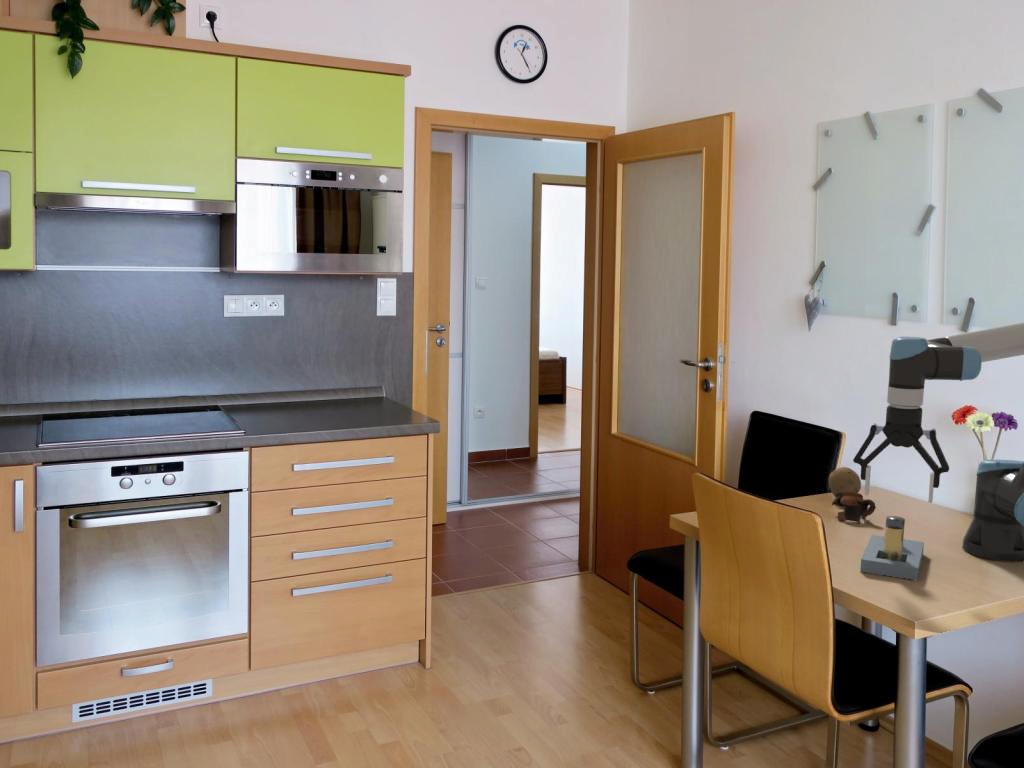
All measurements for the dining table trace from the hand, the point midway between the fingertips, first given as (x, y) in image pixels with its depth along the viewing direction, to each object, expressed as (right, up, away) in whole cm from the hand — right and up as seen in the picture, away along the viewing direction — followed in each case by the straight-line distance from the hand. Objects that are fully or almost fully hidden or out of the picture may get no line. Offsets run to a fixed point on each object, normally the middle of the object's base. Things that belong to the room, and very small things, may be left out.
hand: (898, 497), depth 227 cm
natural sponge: (+8, -8, +63) cm, 64 cm away
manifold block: (+1, -16, +7) cm, 18 cm away
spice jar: (-1, -17, +2) cm, 17 cm away
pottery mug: (+5, -11, +45) cm, 46 cm away
